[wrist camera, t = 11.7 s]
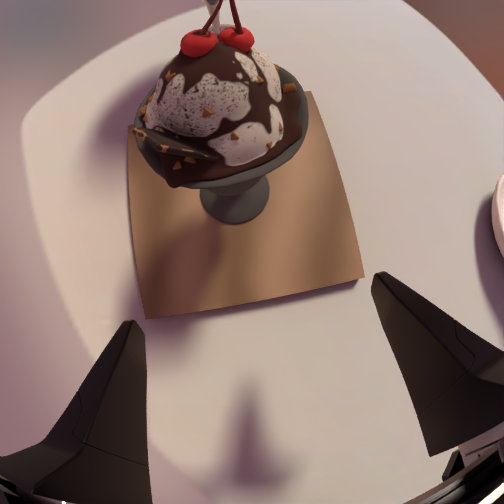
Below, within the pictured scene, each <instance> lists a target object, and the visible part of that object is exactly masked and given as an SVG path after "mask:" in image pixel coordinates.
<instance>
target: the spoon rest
mask: <svg viewBox="0 0 504 504" xmlns="http://www.w3.org/2000/svg"><path fill="white" fill-rule="evenodd" d="M492 226H493V231H494V235H495V239H496V242H497V244H498V247H499V249H500V251H501V253H502V255H503V257H504V174H502V175H501V177H500V178H499V180H498V182H497V184H496V187H495V190H494V194H493V200H492Z"/></svg>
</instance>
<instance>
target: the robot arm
mask: <svg viewBox="0 0 504 504" xmlns="http://www.w3.org/2000/svg"><path fill="white" fill-rule="evenodd" d="M371 294H372V297H373V300H374V303H375V306H376V309H377V312H378V315H379V318H380V321H381V324H382V327H383V329H384V332H385V334H386V337H387V339H388V341H389V344H390V346H391V348H392V351H393V353H394V355H395V358H396V360H397V363H398V365H399V368H400V370H401V373H402V375H403V378H404V381H405V383H406V386H407V389H408V391H409V394H410V397H411V400H412V403H413V405H414V408H415V411H416V414H417V418H418V421H419V424H420V427H421V430H422V433H423V436H424V440H425V443H426V447H427V450H428V454H429V456H430V457H431V456H434V455H437V454H439V453H442V452H444V451H447V450H449V449H451V448H454V447H456V446H458V447H459V449H457V450H456V451H454V452H453V453H452V455H451V457H450V460H449V462H448V464H447V467H446V469H445V471H444V473H443V475H442V480H443V483H441V484H439V485H438V486H436V487H434V488H432V489H431V490H429V491H427V492H425V493H423V494H422V495H420V496H418V497H416V498H414V499H412V500H410V501H408V502H406V503H404V504H504V351H502V350H500V349H498V348H497V347H495V346H494V345H492V344H490V343H489V342H487V341H486V340H484V339H482V338H481V337H479V336H478V335H476V334H475V333H473V332H472V331H470V330H469V329H467V328H466V327H465V326H463V325H462V324H460V323H459V322H458V321H456V320H454V319H453V318H452V317H451V316H449V315H448V314H447V313H445V312H444V311H442V310H441V309H440V308H438V307H437V306H435V305H434V304H433V303H431V302H430V301H428V300H427V299H425V298H424V297H423V296H421V295H420V294H418V293H417V292H415V291H414V290H412V289H411V288H409V287H408V286H406V285H405V284H404V283H402V282H401V281H399V280H398V279H396V278H395V277H393V276H391V275H390V274H388V273H387V272H385V271H383V272H379V273H376V274H375V275H374V278H373V282H372V286H371ZM146 395H147V365H146V350H145V335H144V332H143V331H142V329H141V328H140V327H139V325H138V324H137V322H136V321H135V320H125V321H124V322H123V323H122V324H121V326H120V327H119V329H118V330H117V331H116V333H115V334H114V336H113V337H112V339H111V340H110V342H109V343H108V345H107V346H106V347H105V349H104V350H103V352H102V353H101V355H100V356H99V358H98V359H97V361H96V362H95V364H94V366H93V367H92V369H91V370H90V372H89V373H88V375H87V376H86V378H85V380H84V381H83V383H82V384H81V386H80V388H79V389H78V391H77V392H76V394H75V396H74V397H73V399H72V400H71V402H70V403H69V405H68V407H67V408H66V410H65V411H64V413H63V414H62V415H61V417H60V418H59V420H58V421H57V422H56V424H55V425H54V427H53V428H52V430H51V431H50V432H49V434H48V435H47V436H46V438H45V439H44V440H43V441H41V442H40V443H38V444H36V445H34V446H31V447H29V448H26V449H24V450H21V451H19V452H16V453H13V454H11V455H8V456H3V457H1V456H0V475H1V476H0V504H153V503H152V495H151V486H150V475H149V466H148V465H149V464H148V448H147V416H146Z"/></svg>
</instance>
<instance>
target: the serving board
mask: <svg viewBox="0 0 504 504" xmlns="http://www.w3.org/2000/svg"><path fill="white" fill-rule="evenodd" d="M304 93H305V95H306V98H307V102H308V111H309V120H308V129H307V133H306V136H305V139H304V141H303V143H302V145H301V147H300V149H299V150H298V151H297V153H296V154H295V155H294V156H293V157H292V159H290V160H289V161H287V162H286V163H285V164H283V165H282V166H280V167H279V168H277V169H275V170H273V171H272V172H270V173H268V174H266V177H267V179H268V182H269V186H270V193H269V199H268V201H267V204H266V206H265V207H264V209H263V211H262V212H260V213H259V214H258V215H257V216H256V217H255V218H253V219H252V220H249V221H247V222H243V223H239V224H230V223H224V222H221V221H219V220H217V219H215V218H213V217H212V216H211V215H210V214H209V213H208V212H207V211H206V209H205V208H204V206H203V204H202V201H201V197H200V189H189V188H185V187H178V188H174V189H173V188H171V187H169V185H168V184H167V182H166V180H165V179H164V178H162V177H161V176H160V175H158V174H157V173H156V172H155V171H154V170H153V169H152V168H151V167H150V165H149V164H148V163H147V162H146V160H145V159H144V157H143V156H142V154H141V152H140V151H139V149H138V146H137V142H136V138H135V135H134V134H133V132H132V130H133V128H134V125H131V126H128V178H129V198H130V212H131V223H132V233H133V242H134V251H135V258H136V266H137V273H138V279H139V285H140V291H141V297H142V302H143V308H144V313H145V318H146V319H152V318H159V317H166V316H173V315H180V314H186V313H193V312H199V311H205V310H211V309H217V308H223V307H228V306H234V305H239V304H245V303H250V302H255V301H261V300H266V299H271V298H276V297H281V296H285V295H290V294H295V293H300V292H304V291H309V290H313V289H318V288H322V287H327V286H331V285H335V284H340V283H344V282H348V281H352V280H356V279H360V278H364V277H365V276H364V270H363V265H362V260H361V255H360V251H359V246H358V241H357V237H356V232H355V228H354V224H353V220H352V216H351V212H350V208H349V204H348V200H347V197H346V193H345V189H344V186H343V182H342V179H341V176H340V172H339V169H338V166H337V162H336V159H335V156H334V153H333V150H332V147H331V144H330V141H329V138H328V135H327V132H326V129H325V127H324V124H323V121H322V118H321V116H320V113H319V110H318V108H317V105H316V103H315V100H314V97H313V95H312V93H311V91H306V92H304Z"/></svg>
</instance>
